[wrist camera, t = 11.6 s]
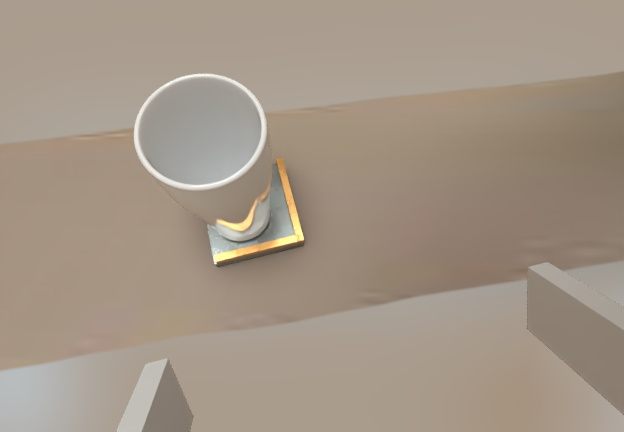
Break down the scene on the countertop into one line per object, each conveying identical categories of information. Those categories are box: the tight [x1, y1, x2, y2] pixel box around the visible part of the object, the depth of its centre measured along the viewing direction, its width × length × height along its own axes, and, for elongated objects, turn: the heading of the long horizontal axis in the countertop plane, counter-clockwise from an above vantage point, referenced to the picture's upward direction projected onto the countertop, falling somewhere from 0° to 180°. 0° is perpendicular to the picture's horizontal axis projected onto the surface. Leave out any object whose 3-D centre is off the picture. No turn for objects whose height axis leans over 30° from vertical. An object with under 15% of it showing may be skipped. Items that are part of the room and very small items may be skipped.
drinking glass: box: [134, 74, 272, 241], centre depth 25 cm, size 7×7×15 cm
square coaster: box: [206, 158, 304, 267], centre depth 32 cm, size 8×8×2 cm
